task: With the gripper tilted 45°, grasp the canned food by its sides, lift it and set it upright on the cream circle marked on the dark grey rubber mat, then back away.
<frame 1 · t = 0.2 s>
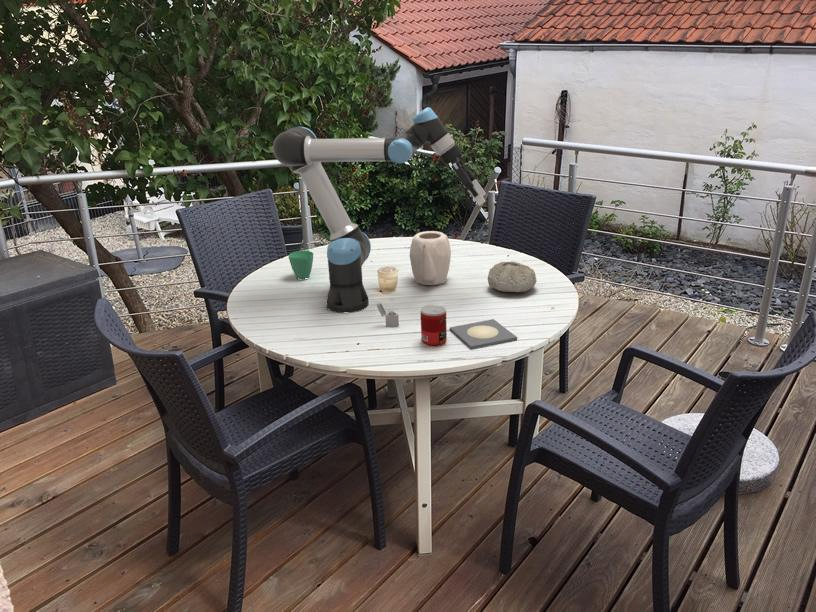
hand: (482, 199, 238), 35 cm above the table, tool tilted 35°, fingers open, 13 cm apart
grey rounded rock: (511, 290, 255), on the table
layout mat: (482, 335, 219), on the table
canned food: (434, 342, 215), on the table
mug: (304, 276, 279), on the table
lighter: (388, 326, 228), on the table
cream ceramic pot: (430, 282, 266), on the table
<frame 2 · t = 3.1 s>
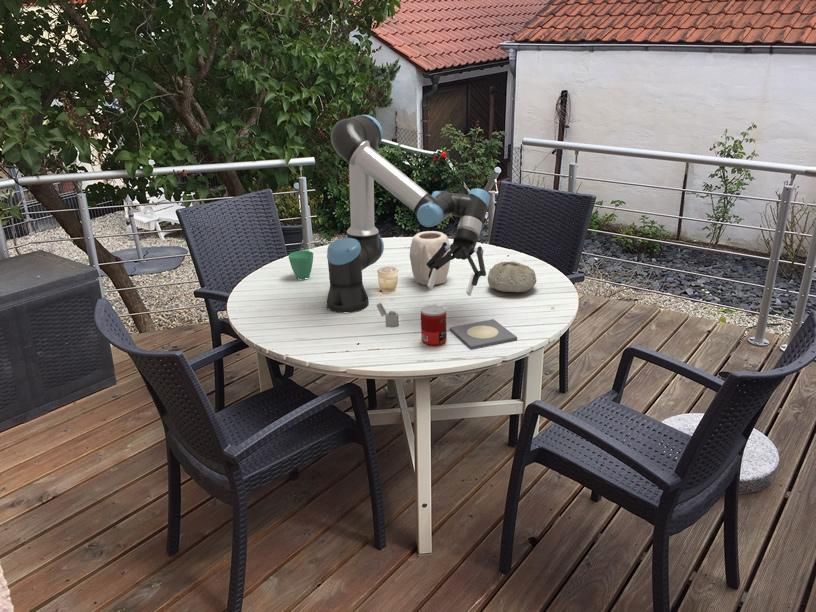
hand: (448, 291, 218), 14 cm above the table, tool tilted 45°, fingers open, 13 cm apart
nothing on the table moved.
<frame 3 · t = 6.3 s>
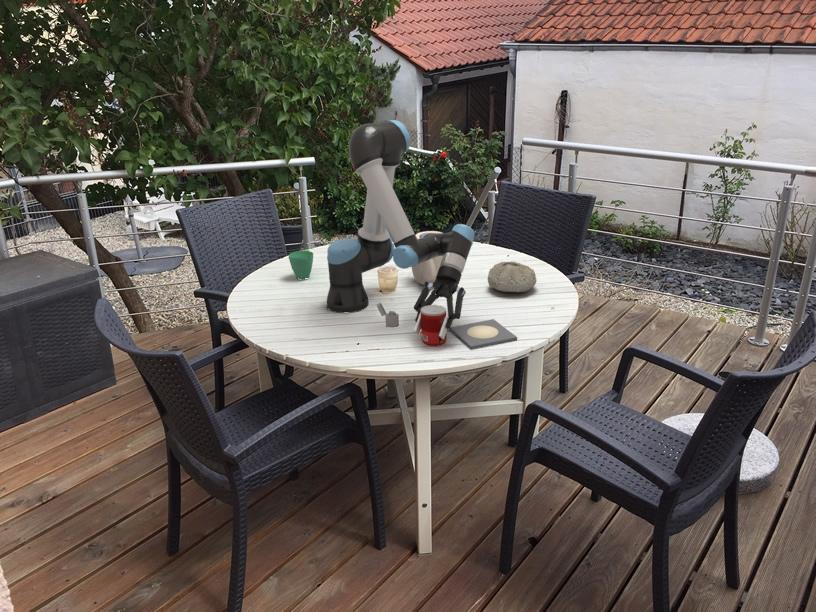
hand: (428, 335, 211), 4 cm above the table, tool tilted 45°, fingers closed on canned food, 8 cm apart
canned food: (434, 342, 215), on the table, touching gripper
everything else where it was.
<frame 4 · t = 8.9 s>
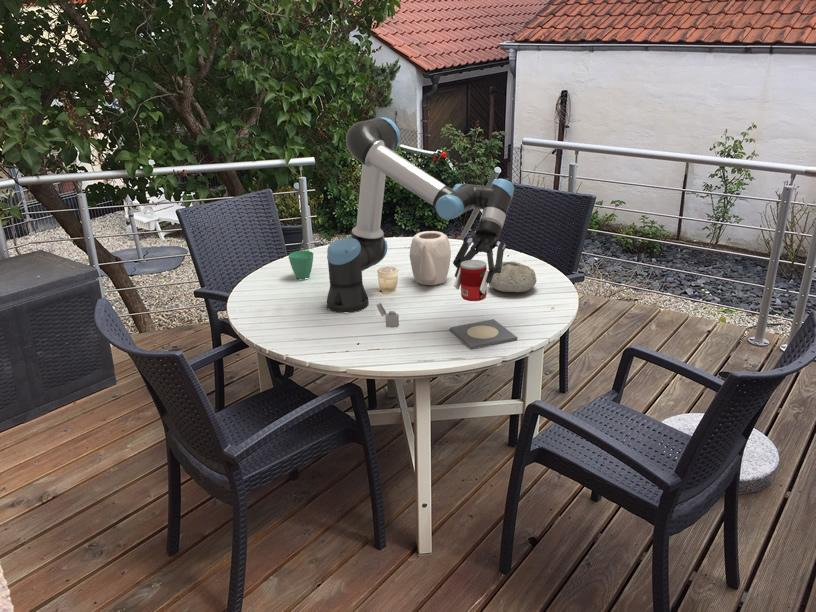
hand: (469, 289, 208), 17 cm above the table, tool tilted 45°, fingers closed on canned food, 8 cm apart
canned food: (473, 297, 212), point 13 cm above the table, touching gripper
everything else where it was.
when the fingers open (6 cm above the table, at t = 11.6 s): canned food drops 1 cm, resting on layout mat.
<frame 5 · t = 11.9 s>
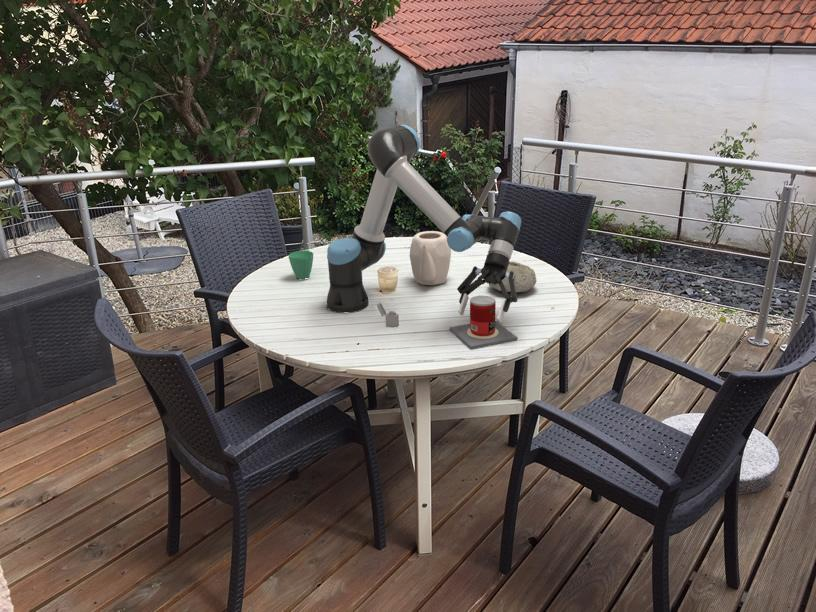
hand: (479, 317, 214), 7 cm above the table, tool tilted 45°, fingers open, 12 cm apart
canned food: (482, 332, 218), point 1 cm above the table, touching layout mat
everything else where it was.
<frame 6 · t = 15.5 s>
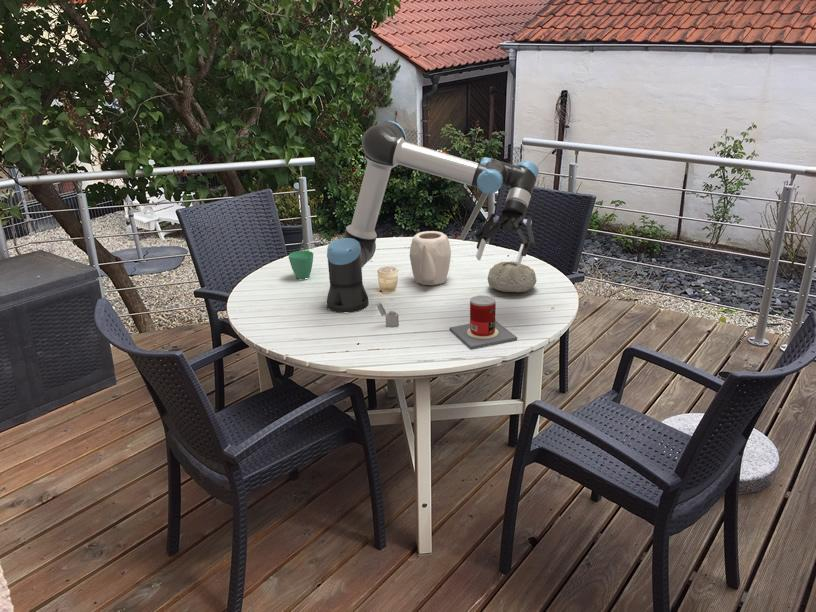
hand: (497, 261, 219), 21 cm above the table, tool tilted 45°, fingers open, 13 cm apart
nothing on the table moved.
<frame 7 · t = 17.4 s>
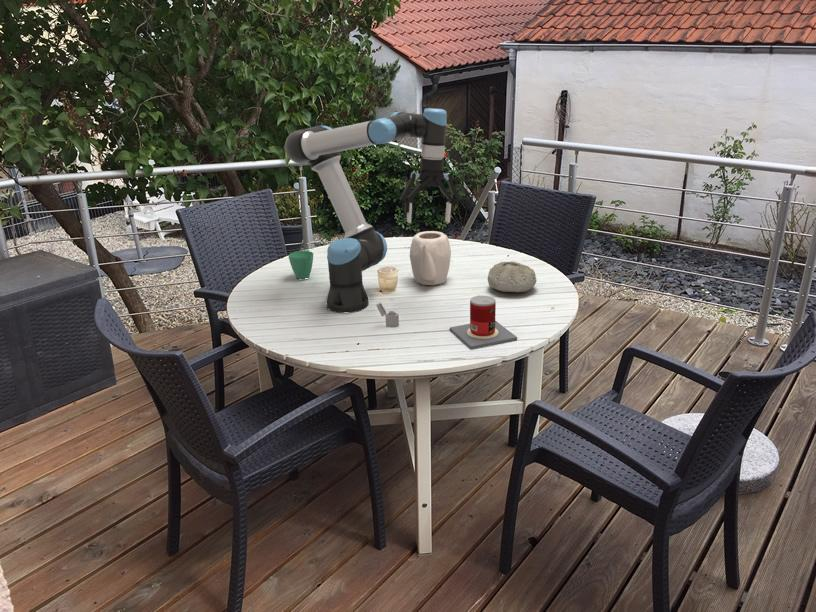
hand: (428, 222, 230), 31 cm above the table, tool pointing down, fingers open, 13 cm apart
nothing on the table moved.
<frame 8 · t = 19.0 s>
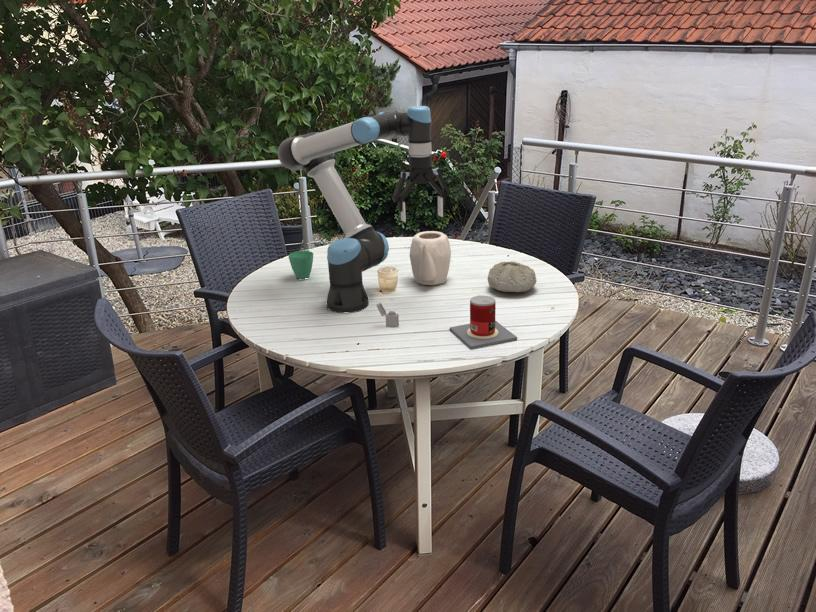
hand: (422, 218, 232), 32 cm above the table, tool pointing down, fingers open, 13 cm apart
nothing on the table moved.
at the end: canned food 0.1 cm off-centre on the layout mat, point 0.9 cm above the layout mat's base; canned food tilted 0°; the gripper is holding nothing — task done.
